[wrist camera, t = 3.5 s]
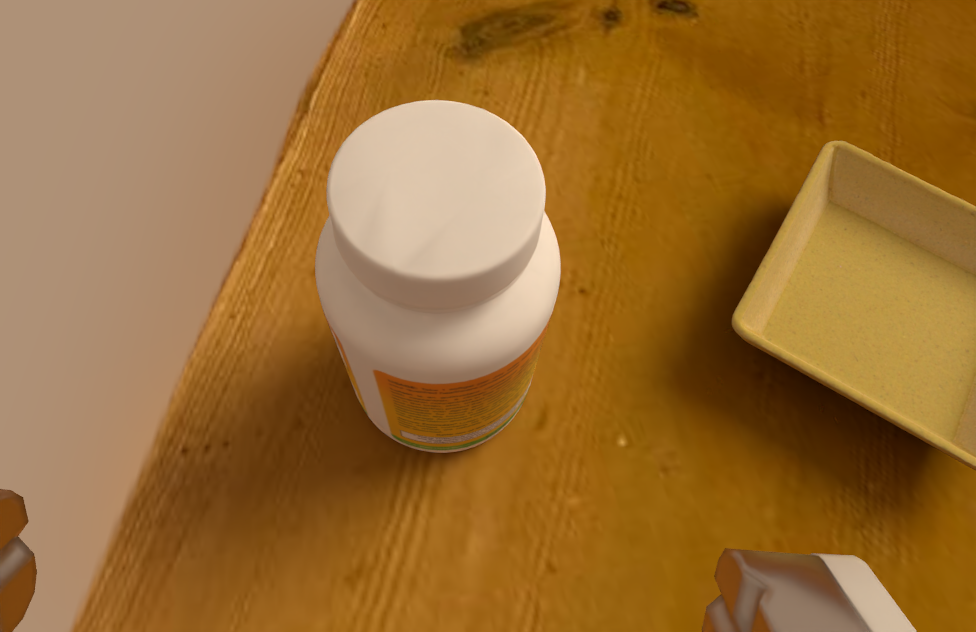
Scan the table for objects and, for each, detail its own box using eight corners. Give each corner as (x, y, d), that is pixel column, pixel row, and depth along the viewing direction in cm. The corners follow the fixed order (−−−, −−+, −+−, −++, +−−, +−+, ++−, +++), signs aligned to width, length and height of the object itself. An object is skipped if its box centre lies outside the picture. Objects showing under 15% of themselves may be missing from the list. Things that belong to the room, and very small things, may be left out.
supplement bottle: (564, 363, 22) (645, 175, 13) (449, 495, 20) (449, 382, 11) (437, 260, 23) (429, 26, 14) (316, 376, 21) (220, 188, 12)
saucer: (802, 168, 25) (831, 131, 23) (1037, 288, 24) (1089, 257, 22) (702, 352, 22) (726, 325, 20) (966, 505, 20) (1019, 492, 18)
